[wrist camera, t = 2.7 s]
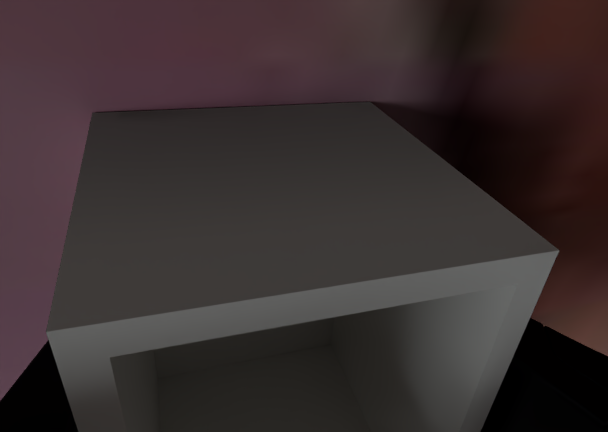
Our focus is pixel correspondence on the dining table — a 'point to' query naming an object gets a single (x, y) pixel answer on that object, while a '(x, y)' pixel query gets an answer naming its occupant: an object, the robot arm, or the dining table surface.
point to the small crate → (285, 276)
